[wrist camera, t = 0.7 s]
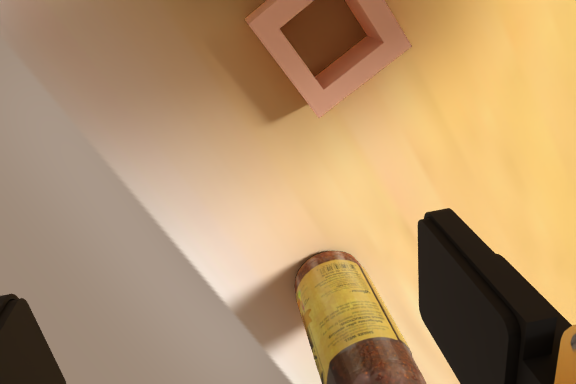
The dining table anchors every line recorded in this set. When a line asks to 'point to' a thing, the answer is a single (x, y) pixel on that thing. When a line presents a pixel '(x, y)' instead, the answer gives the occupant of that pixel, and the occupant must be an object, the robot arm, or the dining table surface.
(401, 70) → the dining table surface
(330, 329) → the sauce bottle
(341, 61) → the square ring block
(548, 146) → the dining table surface
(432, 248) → the robot arm
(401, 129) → the dining table surface
